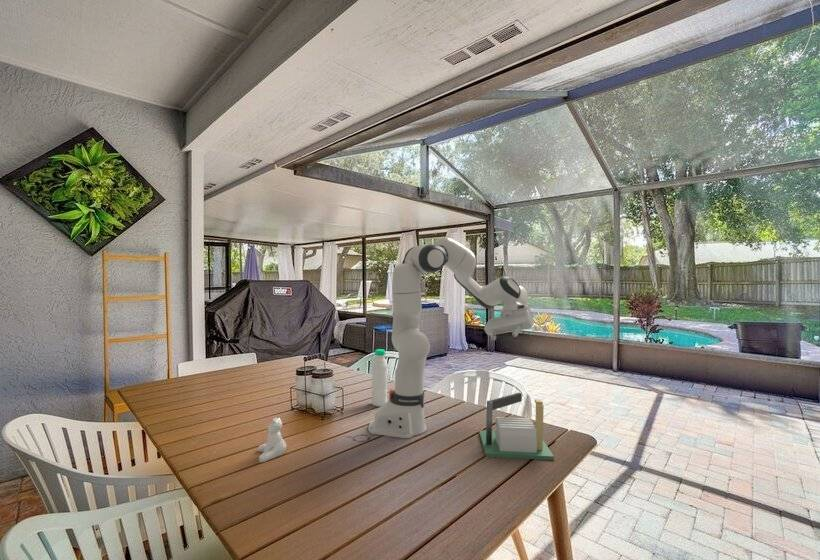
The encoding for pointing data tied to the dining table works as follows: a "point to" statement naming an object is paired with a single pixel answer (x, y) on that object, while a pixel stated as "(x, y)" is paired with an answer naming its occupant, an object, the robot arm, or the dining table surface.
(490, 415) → the retention bar
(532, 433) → the board
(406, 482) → the dining table surface
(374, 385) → the water bottle
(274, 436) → the white creature statuette
